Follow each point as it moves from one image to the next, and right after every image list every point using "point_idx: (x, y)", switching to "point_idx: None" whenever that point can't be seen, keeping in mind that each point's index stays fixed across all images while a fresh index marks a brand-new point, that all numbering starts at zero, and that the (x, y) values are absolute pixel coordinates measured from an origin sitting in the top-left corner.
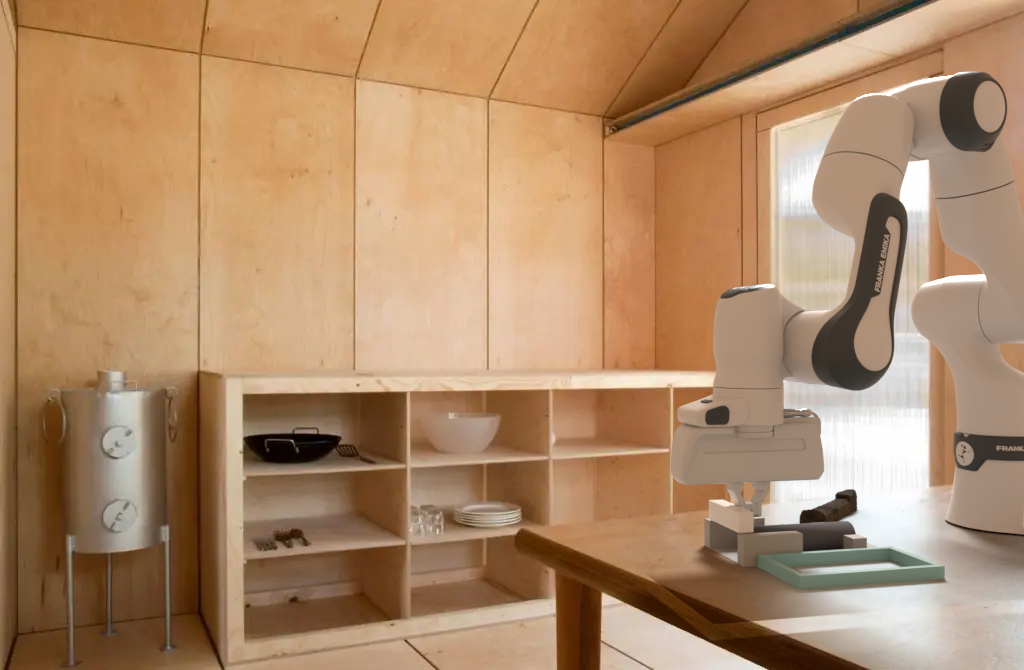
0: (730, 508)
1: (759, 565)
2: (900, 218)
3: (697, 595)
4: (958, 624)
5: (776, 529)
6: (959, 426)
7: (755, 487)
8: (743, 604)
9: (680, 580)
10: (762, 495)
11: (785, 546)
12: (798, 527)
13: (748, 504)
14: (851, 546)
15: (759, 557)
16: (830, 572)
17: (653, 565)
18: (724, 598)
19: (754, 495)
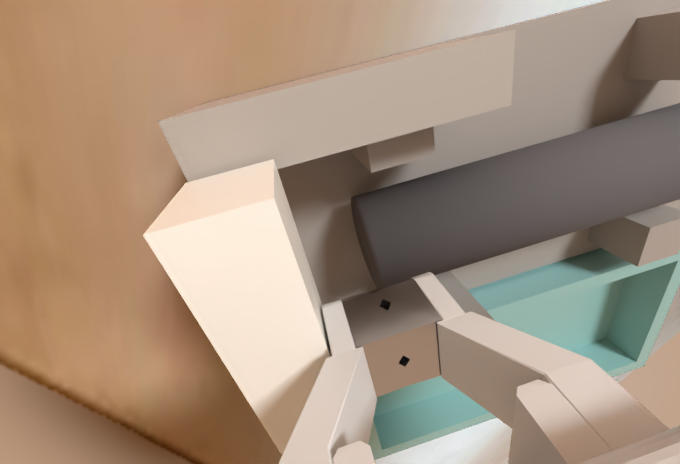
0: (279, 432)
1: None
2: None
3: (181, 436)
4: (504, 444)
5: (466, 263)
6: None
7: (514, 429)
8: (262, 451)
9: (136, 371)
10: (497, 413)
11: None
12: (554, 235)
13: (390, 391)
14: (615, 248)
15: None
16: (435, 434)
17: (20, 262)
18: (233, 438)
19: (477, 356)
